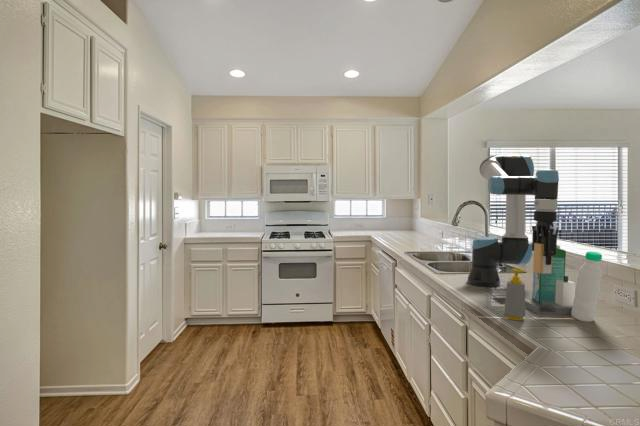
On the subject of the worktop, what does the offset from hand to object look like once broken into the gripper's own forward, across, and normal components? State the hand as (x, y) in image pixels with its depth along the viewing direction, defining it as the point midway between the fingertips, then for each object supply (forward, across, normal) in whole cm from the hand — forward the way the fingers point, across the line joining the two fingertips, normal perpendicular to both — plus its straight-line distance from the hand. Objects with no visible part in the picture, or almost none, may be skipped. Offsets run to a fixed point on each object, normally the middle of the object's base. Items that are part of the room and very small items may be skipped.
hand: (542, 271), depth 148 cm
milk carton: (+16, -14, +10) cm, 23 cm away
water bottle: (+16, +7, +11) cm, 20 cm away
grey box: (+16, 0, +7) cm, 17 cm away
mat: (+16, -12, -7) cm, 21 cm away
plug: (0, 0, 0) cm, 0 cm away
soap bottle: (+16, +8, -14) cm, 23 cm away
